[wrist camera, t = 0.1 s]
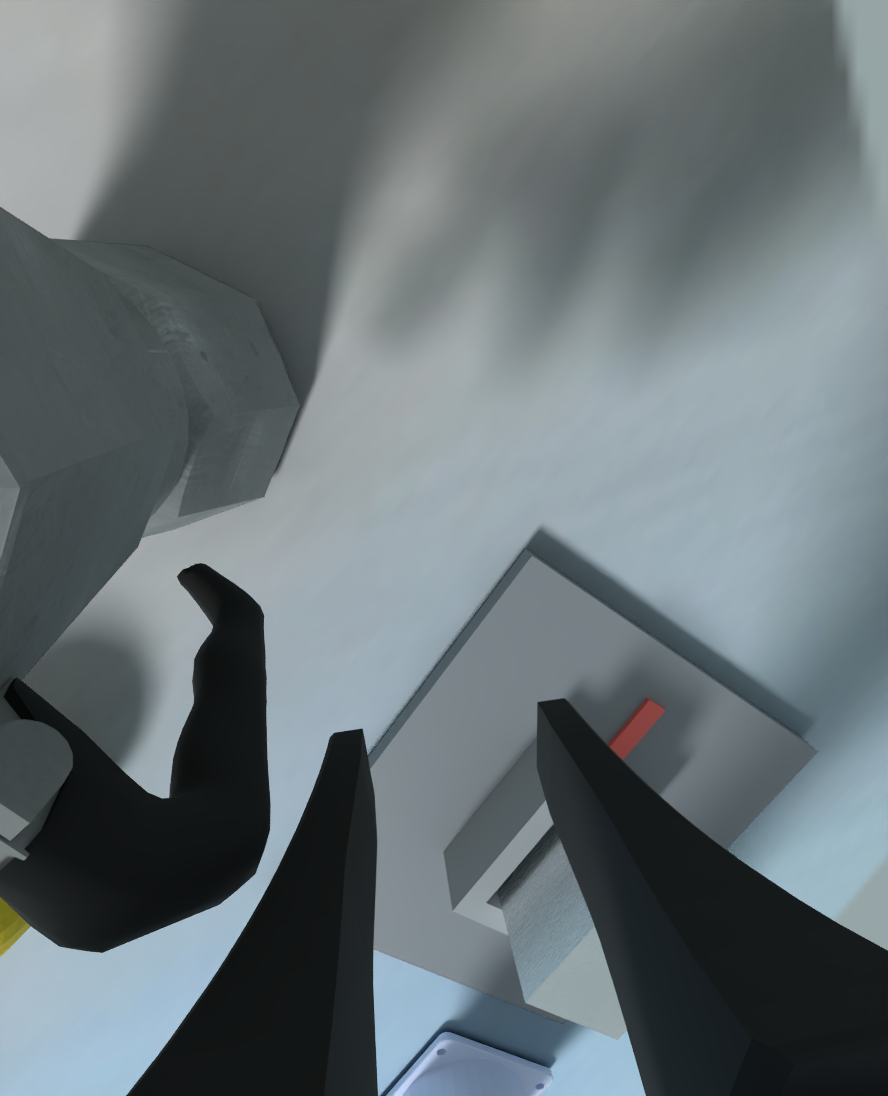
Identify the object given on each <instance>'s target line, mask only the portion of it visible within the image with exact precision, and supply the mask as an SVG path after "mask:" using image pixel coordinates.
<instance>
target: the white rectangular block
mask: <svg viewBox="0 0 888 1096" xmlns="http://www.w3.org/2000/svg"><path fill="white" fill-rule="evenodd" d="M497 892H498V896H499V900H500V904H501V908H502V912H503V916H504V920H505V924H506V928H507V932H508V936H509V940H510V944H511V948H512V952H513V956H514V960H515V964H516V968H517V972H518V976H519V980H520V984H521V988H522V992H523V996H524V1000H525V1003H527V1004H529V1005H532V1006H534V1007H537V1008H539V1009H542V1010H544V1011H547V1012H549V1013H552V1014H554V1015H557V1016H559V1017H562V1018H564V1019H567V1020H569V1021H572V1022H574V1023H577V1024H579V1025H582V1026H584V1027H587V1028H589V1029H592V1030H594V1031H597V1032H599V1033H602V1034H604V1035H607V1036H609V1037H612V1038H614V1039H617V1040H618V1039H619V1038H620V1037H621V1036H622V1035H623V1034H624V1032H625V1031H626V1030H627V1028H626V1025H625V1021H624V1018H623V1014H622V1011H621V1008H620V1004H619V1001H618V998H617V994H616V991H615V988H614V984H613V981H612V978H611V975H610V972H609V968H608V965H607V962H606V959H605V955H604V952H603V949H602V946H601V943H600V939H599V937H598V934H597V931H596V928H595V926H594V923H593V920H592V917H591V915H590V912H589V910H588V907H587V905H586V902H585V900H584V897H583V895H582V892H581V890H580V887H579V885H578V883H577V880H576V878H575V875H574V873H573V870H572V868H571V865H570V863H569V860H568V858H567V855H566V853H565V850H564V848H563V845H562V843H561V840H560V838H559V835H558V833H557V830H556V828H555V825H554V824H553V825H552V826H551V827H550V829H549V830H548V831H547V832H546V833H545V834H544V836H543V837H542V838H541V839H540V840H539V841H538V843H537V844H536V845H535V846H534V847H533V849H532V850H531V851H530V852H529V853H528V854H527V856H526V857H525V858H524V859H523V860H522V861H521V863H520V864H519V865H518V866H517V867H516V868H515V870H514V871H513V872H512V873H511V874H510V875H509V877H508V878H507V879H506V880H505V881H504V883H503V884H502V885H501V886H500V887H499V888H498V890H497Z"/></svg>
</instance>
